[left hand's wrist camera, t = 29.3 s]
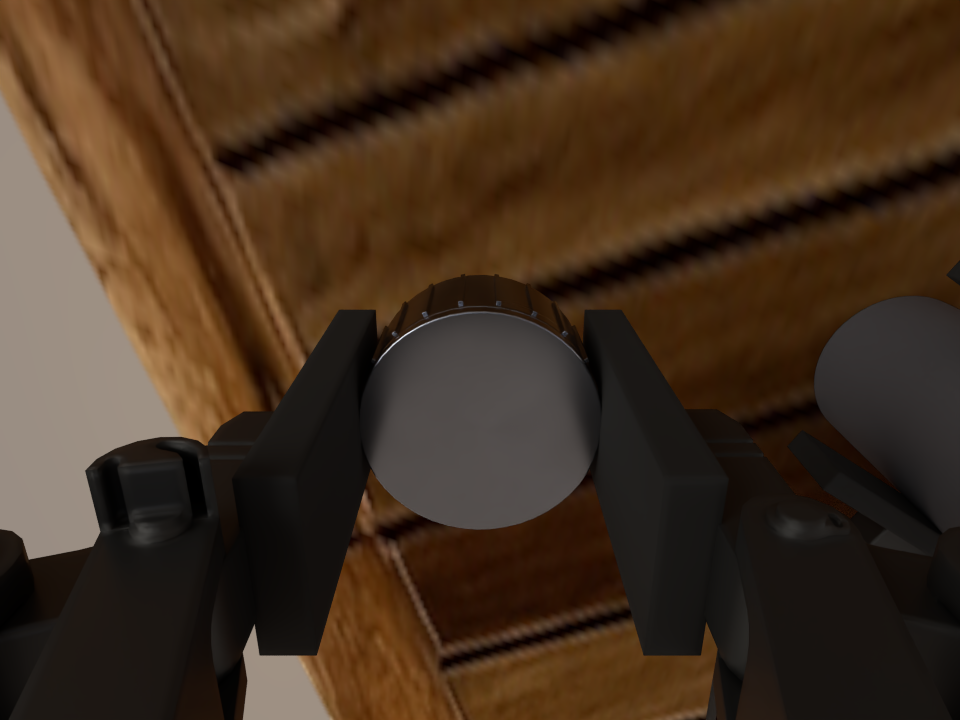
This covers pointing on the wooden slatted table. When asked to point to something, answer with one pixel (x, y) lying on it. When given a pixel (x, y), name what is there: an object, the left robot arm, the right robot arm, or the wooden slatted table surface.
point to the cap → (480, 404)
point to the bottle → (900, 397)
